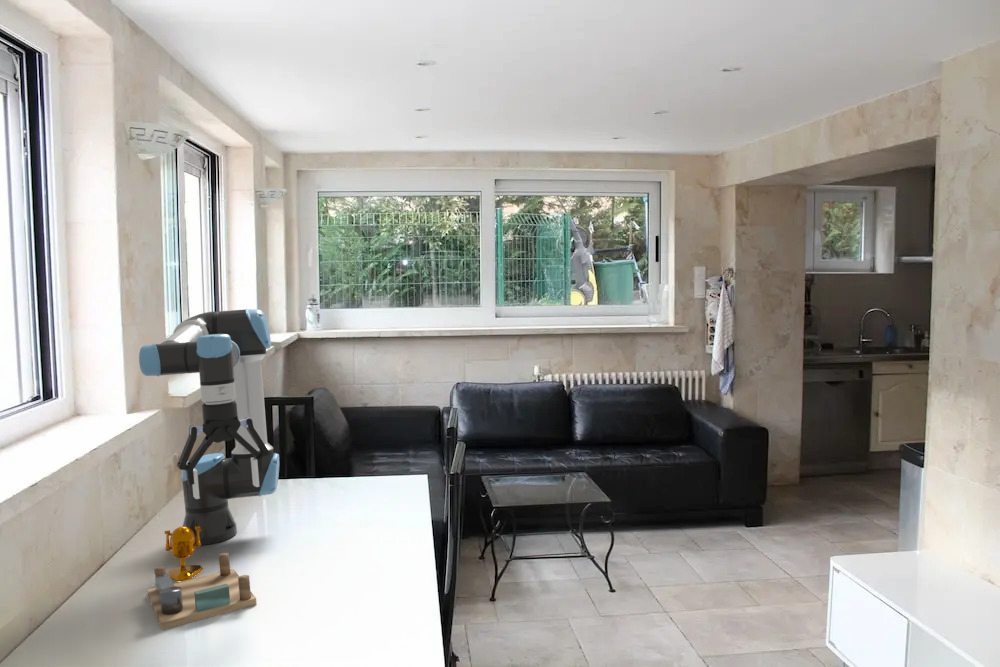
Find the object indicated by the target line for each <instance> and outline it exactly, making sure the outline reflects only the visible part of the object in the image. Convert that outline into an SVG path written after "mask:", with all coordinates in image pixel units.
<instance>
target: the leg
mask: <svg viewBox="0 0 1000 667" xmlns="http://www.w3.org/2000/svg"><path fill="white" fill-rule="evenodd" d="M154 577H155V579H156V581H155V588H156V589H157V594H158V596H159V598H160V601H161V611H162V613H163V614H173V613H176V612H179V611H181V610H182V609H183V602H182V591H181V587H178V586H174V584H173V583H174V582H173V580H172V579H171V578H170V576H169V574H168V573H166V574H163V575H159V576H155V575H154ZM155 579H154V580H155Z"/></svg>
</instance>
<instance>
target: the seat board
mask: <svg viewBox="0 0 1000 667" xmlns="http://www.w3.org/2000/svg"><path fill="white" fill-rule="evenodd" d="M230 561H231V560H230V553H229V552H223V553H219V554H218V562H219V563H218V564H219V572H216V573H215V572H214V573H210V574H206V575H202V576H197V577H194V578H192V579H189V580H185V581H181V582H173V584H174V586H178V587H181V591H182V602H183V609H182V610H181V611H179V612H176V613H173V614H163V613H162V611H161V601H160V598H159V596H158V594H157V589H156V587H153V588H148V589H147V590H146V592H147V597H149V598H148V599H149V602H150V605H151V604H152V605H151V607H152V610H153V612H154V611H155V612H154V614H155V616H157V617H156V619H157V621H158V623H160V624H159V626H160V629H161V628H162V629H163V630H166V628H167V629H170V628H174V627H178V626H181V625H185V624H189V623H193V622H197V621H200V620H203V619H204V620H205V619H208V618H212V617H214V616H215V617H216V616H218V615H223V614H227V613H230V612H234V611H238V610H241V609H245V608H249V607H253V606H256V605H257V597H256V595H254V594H253V593H252V591H251V582H250V575H248V574H243V575H239V573H238V572H237V571H236V570H235V569H234V568H232V569H231V564H230ZM153 570H154V577H155V576H159V575H163V574H167V571H166V570H167V569H166V566H157V567H155V568H154V569H153ZM154 581H155V582H156V579H154ZM211 616H212V617H211ZM162 629H161V630H162Z"/></svg>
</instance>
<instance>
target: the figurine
mask: <svg viewBox="0 0 1000 667" xmlns="http://www.w3.org/2000/svg"><path fill="white" fill-rule="evenodd" d="M182 526H183V525H182ZM182 526H179V527H177V528H175V529H174V530H173V531H172V532H171V530H164V534H165V535H166V536H165V540H166V541H165V548H164V550H165V551H166V552H169V551H170V555H171V556H172V557H174V558H176V559H179V563H180V564H179V566H178V567H175V568H172V569H170V570H169V571H168V573H167V574H169V576H170V578H171V580H172V579H173V580H172V581H174V580H175V581H174V582H176V581H185V580H189V579H191V578H192V577H194V576H195V575H197V574H198V573H200V572H201V571H202V570H203V569H205V568H204V567H203V566H202V565H200V564H193V565H192V564H191V565H189V564H188V565H186V560H187V558H189V557H191V556H192V555H193V554H195V552H196V550H197V548H200V547H201V546H202V545H201V542H200V538H199V531H200V532H201V531H202V530H201V529H200V526H199V527H195V530H197V540H196V539H195V535H194V533H193V531H192V530H191V529H190V528H188V527H184V526H183V527H182ZM195 541H196V543H195ZM203 571H204V570H203ZM203 571H202V572H203ZM202 572H201V573H202ZM201 573H200V574H201ZM198 575H199V574H198ZM198 575H197V576H198ZM195 577H196V576H195ZM195 577H194V578H195ZM192 579H193V578H192Z"/></svg>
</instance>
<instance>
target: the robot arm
mask: <svg viewBox="0 0 1000 667" xmlns="http://www.w3.org/2000/svg"><path fill="white" fill-rule="evenodd" d="M267 321H268V320H267V318H266V316H265V313H264V311H262V310H261V309H258V308H257V309H254V308H253V309H250V308H249V309H247V308H246V309H234V310H233V309H232V310H219V311H207V312H206V311H205V312H203V313H199V314H195V315H194V316H191V317H189V318H187V319H185V320H183V321H182V322H180V323H179V324H177V325H176V327H175V328H174V330H173V333H172V334H171V335H169V336H168V337H167V338H166V339H165V340H163V341H162V342H161V343H152V344H146V345H145V344H144V345H142V346H141V347H140V349H139V351H138V352H139V353H138V362H139V368H140V371H141V373H142V375H143V376H146V377H160V376H170V375H172V376H173V375H183V374H197V373H198V374H199V384H200V387H199V388H200V398H201V402H203V404H202V405H201V407H202V420H203V422H202V425H201V426H194V425H190V426H189V428H188V437H187V439H186V441H185V444H184V447H183V449H182V452H181V454H180V455H179V459H178V462H177V464H176V467H177V468H178V469H179V470H181V482H182V491H183V500H184V509H185V510H184V511H185V514H184V519H183V522H182V526H181V527H183V526H184V527H188V528H190V529H191V530H192V531H193V533H194V535H195V539H196V540H197V530H195V527H199V526H200V529H201V530H202V531H201V532H200V531H199V538H200V542H201V546H202V545H203V546H204V545H205V544H206V545H211V544H212V545H213V544H216V543H220V541H221V542H223V541H226V540H229V539H230V538H233V537H234V536H236V534H237V533H238V528H237V522H236V520H235V518H234V517H233V514H232V512H231V510H230V508H229V501H228V500H231V499H232V500H233V499H234V500H235V499H241V498H250V497H262V496H268V495H273V494H274V493H275V492H276V490H277V489H278V482H279V475H280V474H279V473H280V454H279V453H276V452H274V446H272V445H271V444H270V443H269V442H268V433H267V420H266V419H267V418H266V408H265V395H264V394H265V393H264V381H263V380H264V379H263V366H262V361H263V359H264V358H265V357H266V356H267V350H269V349H270V348H271V347H272V341H271V334H270V328H269V325H268V322H267ZM202 432H203V434H204V435H205V436H204V438H203V439H202V442H201V443H200V445H199V446H198V448H197V449H195V450H196V451H195V452H194V453H193V455H192V456H191V452H192V451H193V449H194V446H195V443H196V442H197V437H199V436H200V434H201V433H202ZM233 439H234V440H235V444H236V446H235V447H234V448H233V449H232V450H231V457H229V458H227V457H226V456H225V455H224V453H222V452H219V453H218V452H215V453H208V454H205V453H206V452H207V450H208V449H209V448H210V447H211V446H212V445H213V443H216V444H219V443H223V442H230V441H232V440H233ZM190 456H191V458H190ZM225 457H226V458H225ZM195 543H196V541H195ZM206 545H205V546H206Z"/></svg>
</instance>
